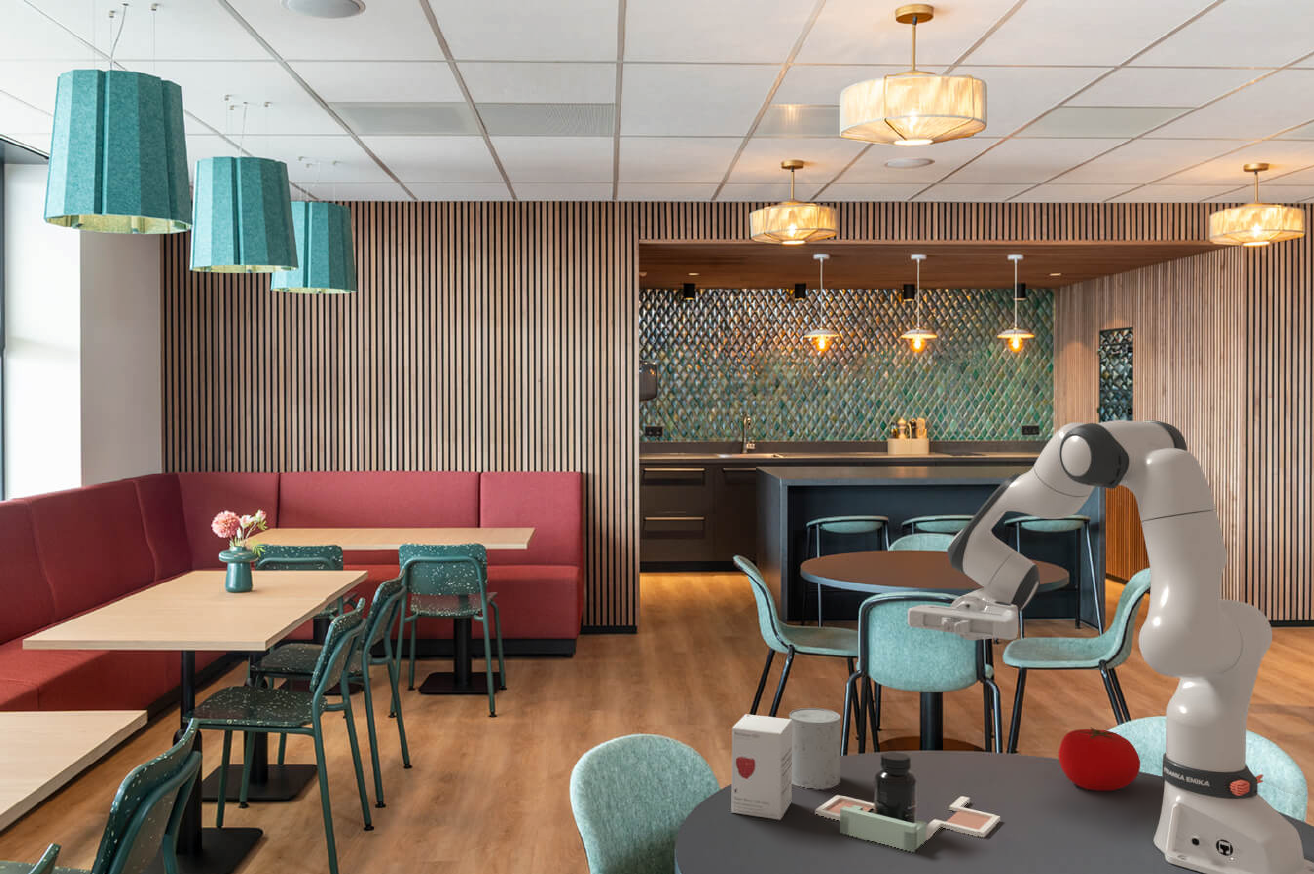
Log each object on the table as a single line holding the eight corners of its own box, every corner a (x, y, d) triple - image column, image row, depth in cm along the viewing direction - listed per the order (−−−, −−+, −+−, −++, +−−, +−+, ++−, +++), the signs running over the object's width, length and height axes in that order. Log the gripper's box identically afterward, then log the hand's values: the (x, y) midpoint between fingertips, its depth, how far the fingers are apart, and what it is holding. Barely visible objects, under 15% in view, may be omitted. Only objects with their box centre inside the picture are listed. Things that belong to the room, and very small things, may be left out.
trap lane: (867, 779, 190) (867, 758, 189) (1009, 811, 174) (1009, 788, 174) (801, 823, 169) (802, 799, 169) (957, 864, 153) (957, 838, 153)
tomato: (1041, 778, 190) (1042, 724, 190) (1089, 768, 196) (1089, 715, 196) (1105, 804, 177) (1106, 745, 177) (1154, 792, 183) (1155, 735, 183)
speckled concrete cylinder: (810, 768, 196) (810, 705, 196) (850, 780, 189) (851, 715, 189) (778, 779, 189) (778, 714, 189) (818, 793, 182) (819, 726, 182)
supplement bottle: (919, 837, 163) (920, 763, 163) (877, 835, 164) (877, 762, 163) (912, 820, 170) (912, 749, 170) (871, 819, 170) (871, 748, 170)
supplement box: (729, 813, 173) (729, 726, 173) (743, 795, 181) (743, 712, 181) (781, 821, 170) (781, 732, 169) (793, 802, 178) (793, 718, 178)
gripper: (921, 594, 203) (895, 604, 191) (1025, 606, 191) (1004, 617, 179) (921, 625, 203) (894, 637, 191) (1025, 639, 191) (1003, 652, 180)
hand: (948, 628), depth 185 cm, fingers closed
